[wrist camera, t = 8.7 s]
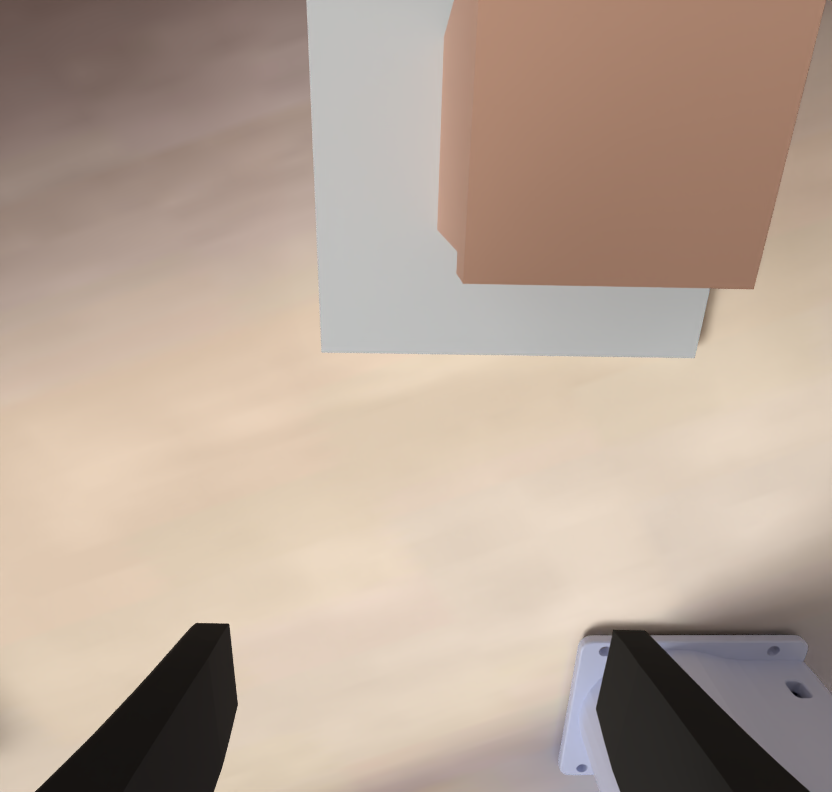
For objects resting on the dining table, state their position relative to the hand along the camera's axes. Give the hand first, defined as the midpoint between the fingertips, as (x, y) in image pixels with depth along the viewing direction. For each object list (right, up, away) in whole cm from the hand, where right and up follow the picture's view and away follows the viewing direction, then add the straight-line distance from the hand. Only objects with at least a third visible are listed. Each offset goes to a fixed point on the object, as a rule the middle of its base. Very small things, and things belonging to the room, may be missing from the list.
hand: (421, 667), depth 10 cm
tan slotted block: (+3, +12, +5) cm, 13 cm away
